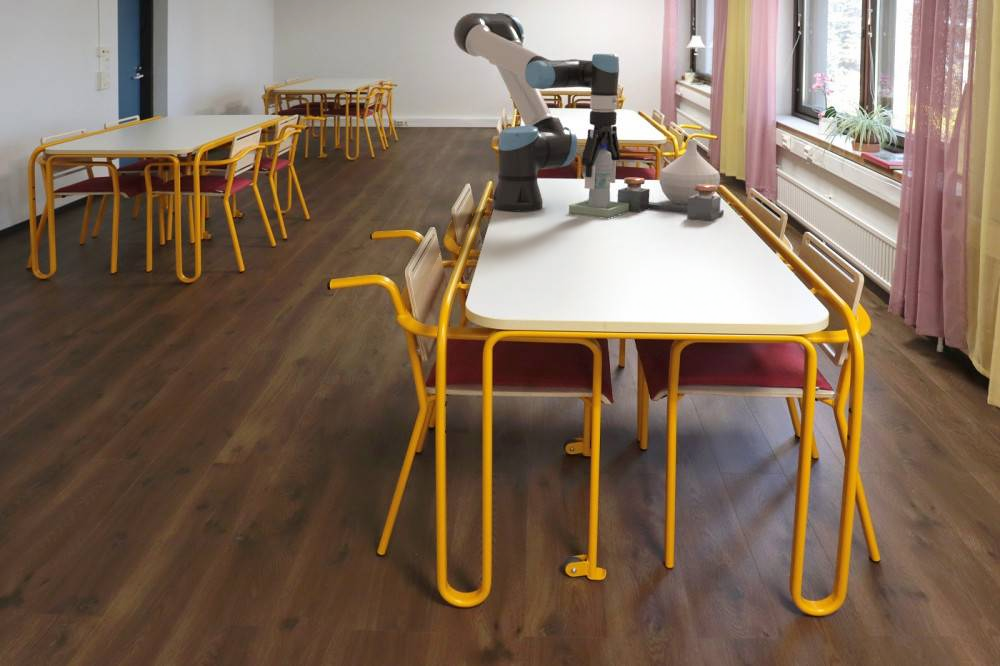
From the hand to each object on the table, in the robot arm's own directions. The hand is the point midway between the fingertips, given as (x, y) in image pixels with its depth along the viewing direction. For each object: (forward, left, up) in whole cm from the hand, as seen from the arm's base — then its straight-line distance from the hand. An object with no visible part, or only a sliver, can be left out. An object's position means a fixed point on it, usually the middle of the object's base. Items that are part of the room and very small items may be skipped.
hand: (600, 185), depth 282 cm
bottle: (0, 0, -8) cm, 8 cm away
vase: (+15, +31, -8) cm, 36 cm away
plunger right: (+28, +11, -7) cm, 31 cm away
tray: (0, 0, -8) cm, 8 cm away
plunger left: (+6, +10, -7) cm, 14 cm away
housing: (+17, +12, -8) cm, 22 cm away
